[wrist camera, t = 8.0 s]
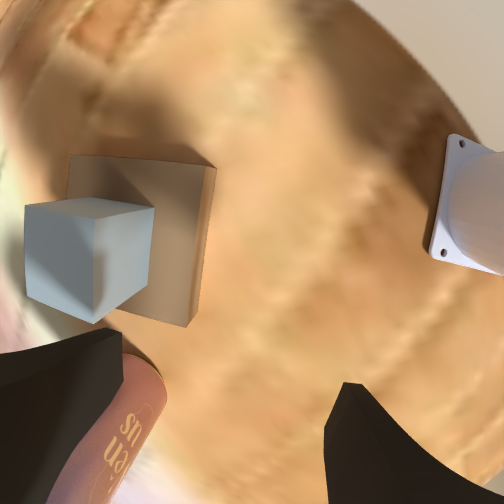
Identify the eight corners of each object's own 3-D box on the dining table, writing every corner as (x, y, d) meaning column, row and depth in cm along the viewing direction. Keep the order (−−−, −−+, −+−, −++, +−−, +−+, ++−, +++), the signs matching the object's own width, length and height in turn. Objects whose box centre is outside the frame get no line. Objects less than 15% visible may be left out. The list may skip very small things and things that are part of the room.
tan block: (218, 169, 18) (205, 165, 15) (199, 308, 20) (185, 327, 17) (97, 157, 18) (70, 154, 15) (88, 279, 20) (64, 291, 17)
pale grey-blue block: (155, 207, 15) (95, 219, 10) (147, 284, 16) (93, 324, 11) (91, 197, 16) (24, 205, 10) (87, 267, 17) (27, 296, 11)
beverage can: (95, 347, 21) (-30, 462, 6) (159, 350, 20) (36, 510, 6) (117, 404, 22) (28, 524, 8) (178, 412, 21) (101, 564, 7)
